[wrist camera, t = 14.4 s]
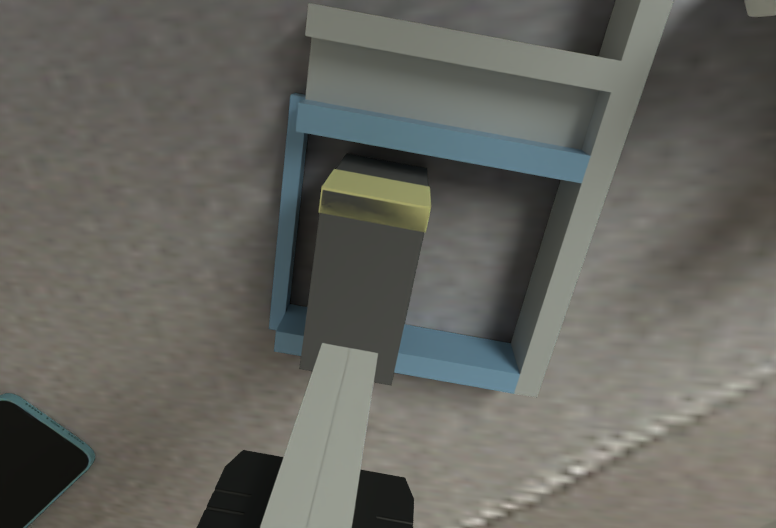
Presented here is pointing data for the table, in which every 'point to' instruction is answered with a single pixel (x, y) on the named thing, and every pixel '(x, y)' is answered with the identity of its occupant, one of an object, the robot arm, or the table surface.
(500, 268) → the table surface
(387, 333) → the yellow-capped grey block
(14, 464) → the smartphone
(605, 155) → the grey frame
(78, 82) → the table surface
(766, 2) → the cable organizer
